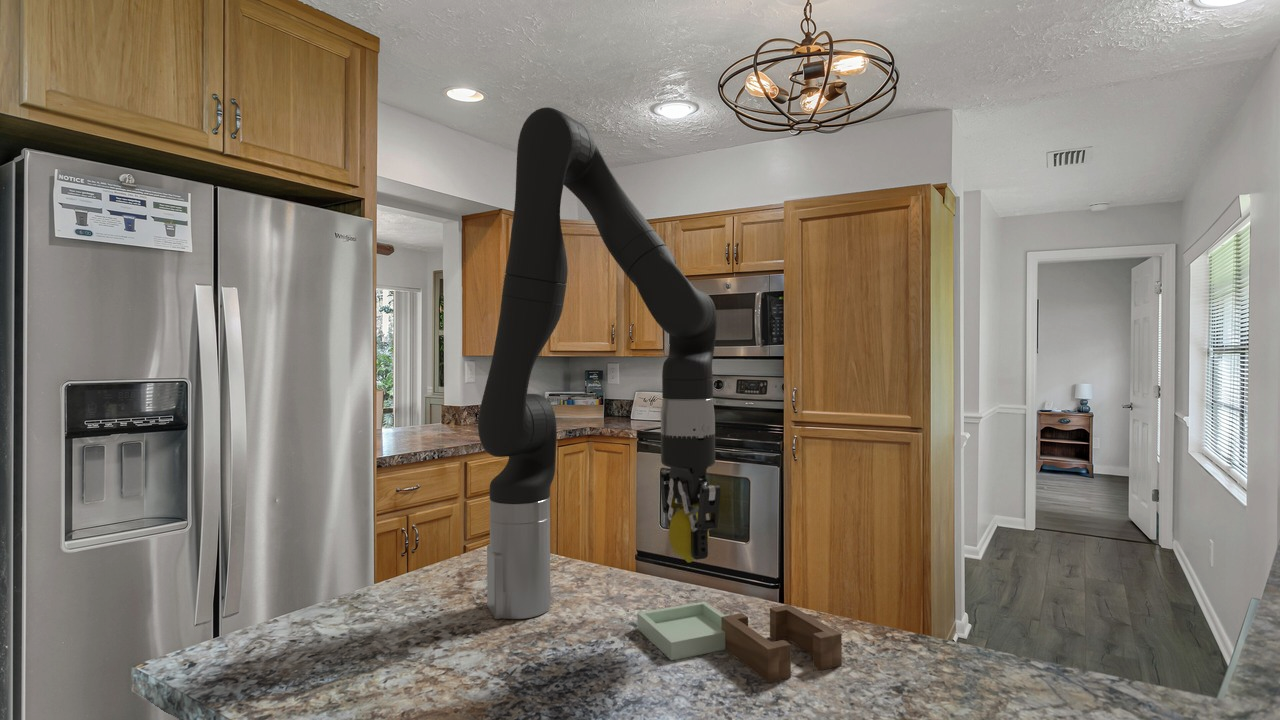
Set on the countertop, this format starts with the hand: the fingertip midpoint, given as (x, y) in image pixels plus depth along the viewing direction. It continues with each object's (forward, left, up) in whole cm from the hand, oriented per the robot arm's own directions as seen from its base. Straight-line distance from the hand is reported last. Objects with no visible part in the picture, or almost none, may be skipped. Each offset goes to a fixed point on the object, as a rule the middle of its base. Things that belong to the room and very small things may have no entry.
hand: (689, 551), depth 94 cm
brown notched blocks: (+8, -10, -12) cm, 17 cm away
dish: (0, 0, -12) cm, 12 cm away
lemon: (0, 0, -2) cm, 2 cm away
